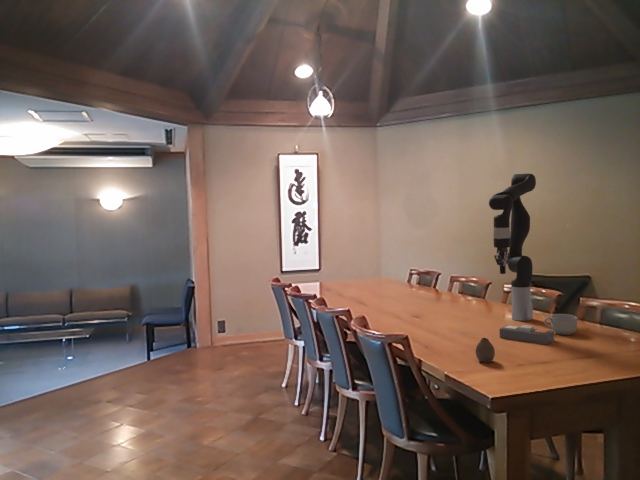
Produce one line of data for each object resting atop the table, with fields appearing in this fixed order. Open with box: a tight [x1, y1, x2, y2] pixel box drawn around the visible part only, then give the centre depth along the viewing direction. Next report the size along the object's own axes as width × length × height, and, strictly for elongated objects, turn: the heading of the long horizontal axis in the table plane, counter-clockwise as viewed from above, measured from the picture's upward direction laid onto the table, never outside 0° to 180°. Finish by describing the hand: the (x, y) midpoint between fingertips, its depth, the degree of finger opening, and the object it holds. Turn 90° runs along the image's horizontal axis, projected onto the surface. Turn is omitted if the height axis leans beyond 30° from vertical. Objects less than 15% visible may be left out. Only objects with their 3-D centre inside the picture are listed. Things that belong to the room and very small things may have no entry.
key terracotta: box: [534, 328, 550, 334], centre depth 207 cm, size 5×5×2 cm
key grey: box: [518, 324, 535, 332], centre depth 212 cm, size 5×5×2 cm
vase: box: [475, 337, 496, 364], centre depth 183 cm, size 7×7×9 cm
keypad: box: [499, 324, 555, 345], centre depth 212 cm, size 20×8×4 cm, turn 46°
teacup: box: [543, 313, 578, 336], centre depth 219 cm, size 14×11×8 cm
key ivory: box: [503, 324, 520, 330], centre depth 216 cm, size 5×5×2 cm
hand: (502, 273), depth 229 cm, fingers closed
